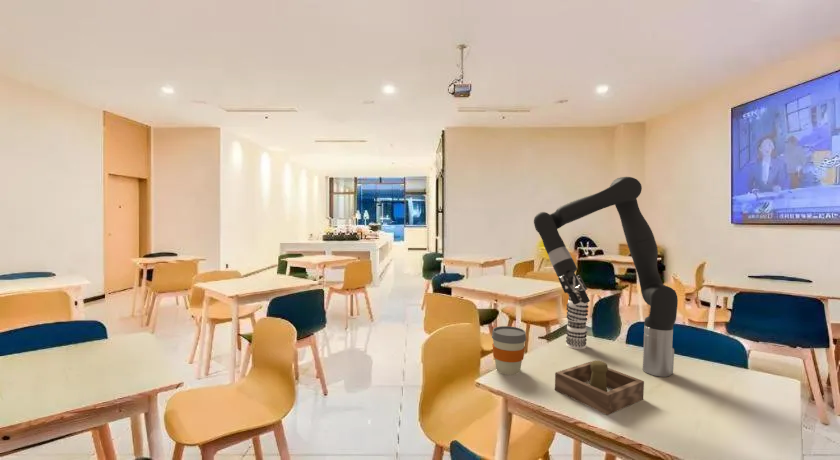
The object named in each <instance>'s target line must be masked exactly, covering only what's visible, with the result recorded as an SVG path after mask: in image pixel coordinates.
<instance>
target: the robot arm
mask: <svg viewBox="0 0 840 460" xmlns="http://www.w3.org/2000/svg"><path fill="white" fill-rule="evenodd" d="M642 188H643V186H642V184H641V182H640V180H639V179H637V178H635V177H631V176H620V177H617V178H615V179H614V180H612V182H611V183H610V185H609V187H607V188H605V189H603V190H601V191H598V192H596V193H593V194H590V195H588V196H584V197H581V198H578V199H576V200H573V201H570V202H569V203H568V202H567V203H565V204H563V205H560V206H559V207H557V208H556V210H555V211H554V212H552V213H548V212H545V211H541V212H538V213H537V214H536V215H535V216H534V219H533V225H534V228H535V231H536V232H537V233H538V235H540V236H539V237H540V238H541V240H542V243H543V246H544V249H545V251H546V253H547V255H548V258H549V262H550V264H551V266H552V267H553V270H554V272H555V274H556V276H557V279H558V280H559V284H560V285H561V288H562V290H563V293H564V294H567V295H568V297H569V296H570V298H571V300H572V302H573V304H578V303H580V301H579V299H578V297H577V295H576V292H575V290H577V292H578V293H579V295H580V297H581V299H582V301H583V303H588V304H589V302H590V299H589V296H588V295H587V290H588V288H587V286H586V284H585V282H584V281H583V280H584V279H583V278H582V276H581V275H580V274H578V275H576V271H577V270H578V267H577V265H576V263H575V261H574V259H573V257H572V255H571V252H570V251H569V249H568V248H567V247H566V244H565V242H564V240H563V238H562V237H561V235H560V232H559V229H560V228H562V227H563V226H565V225H566V224H569V223H573V222H574V221H577V220H579V219H582V218H584V217H587V216H589V215H591V214H594V213H595V212H598V211H601V210H602V209H606V208H609V207H611V206H615V208H616V210H617V213H618V216H619V218H620V223H621V226H622V230H623V234H624V237H625V240H626V244H627V248H628V250H629V252H630V253H629V254H630V255H631V259H632V262H633V265H634V268H635V270H636V273H637V277H638V281H639V286H640V293H641V296H642V299H643V301H644V302H645V303H646V304H647V305H648V306H650V307H649V315H647V317H645V318H644V328H643V332H644V333H643V349H642V350H643V353H642V370H643V372H645V373H647V374H648V375H652V376H655V377H664V378H665V377H666V378H667V377H670V376H671V375H673V374H674V364H675V363H674V361H675V348H674V347H673V335H674V324H675V323H676V321H677V314H678V301H679V300H678V295H677V292H676V291H675V290H674V288H672V287H671V286H668V285H666V284H664V283H663V281H662V278H661V275H660V273H659V270H658V255H659V251H658V245H657V242H656V238H655V235H654V233H653V230H652V228H651V227H650V224H649V223H648V222H647V220H646V219H645V217H644V215H643V214H642V212H641V209H640V206H639V204H638V200H637V198H639V197H640V195H641V193H642ZM574 292H575V293H574Z"/></svg>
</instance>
